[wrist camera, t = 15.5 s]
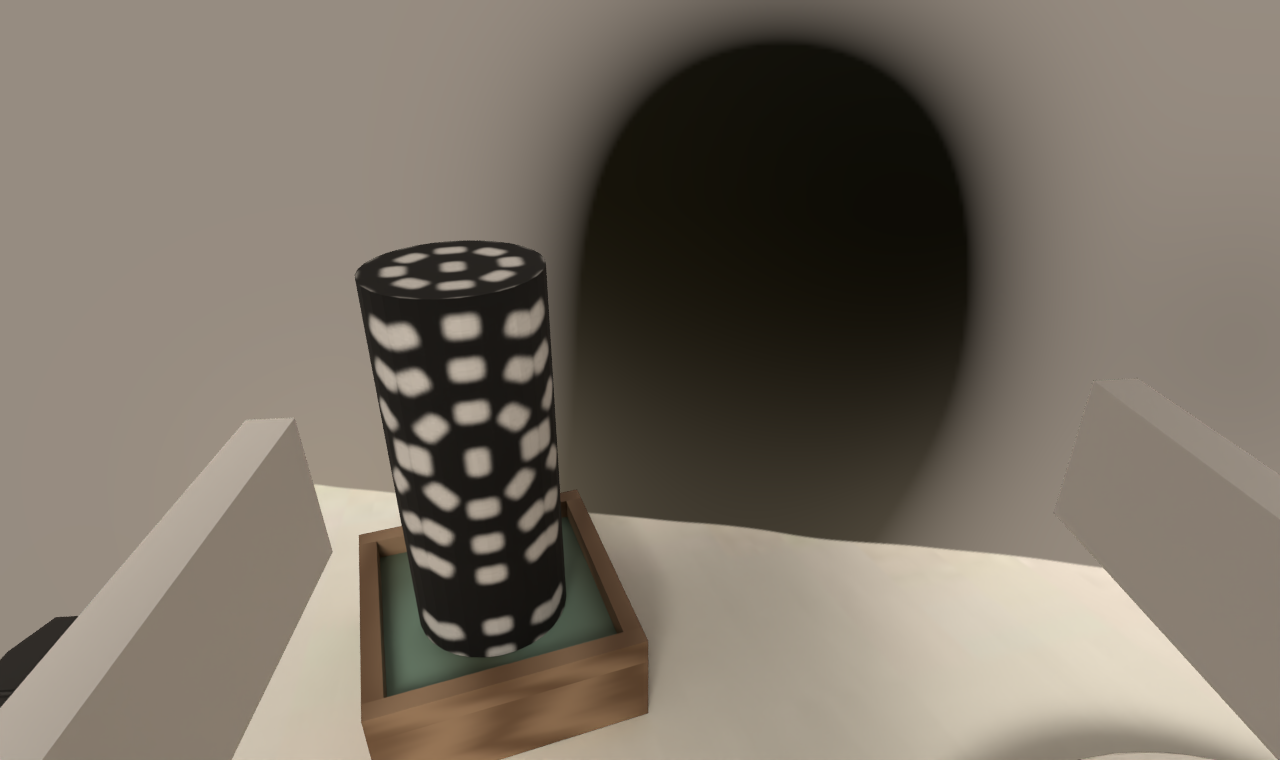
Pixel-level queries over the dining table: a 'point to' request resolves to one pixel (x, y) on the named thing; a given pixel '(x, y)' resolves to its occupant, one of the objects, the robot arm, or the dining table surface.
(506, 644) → the white-spotted black cylinder
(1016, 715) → the dining table surface
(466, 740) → the square wooden tray
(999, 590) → the dining table surface
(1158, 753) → the dinner plate
